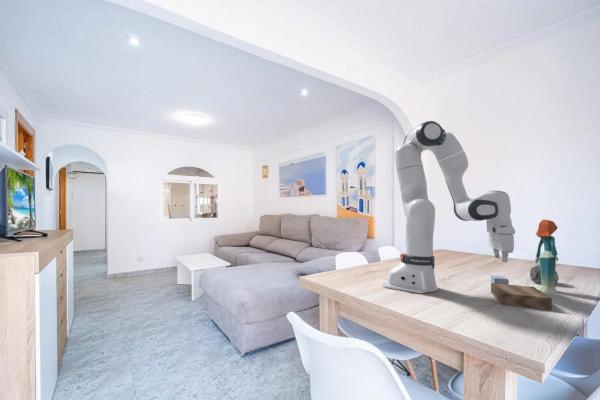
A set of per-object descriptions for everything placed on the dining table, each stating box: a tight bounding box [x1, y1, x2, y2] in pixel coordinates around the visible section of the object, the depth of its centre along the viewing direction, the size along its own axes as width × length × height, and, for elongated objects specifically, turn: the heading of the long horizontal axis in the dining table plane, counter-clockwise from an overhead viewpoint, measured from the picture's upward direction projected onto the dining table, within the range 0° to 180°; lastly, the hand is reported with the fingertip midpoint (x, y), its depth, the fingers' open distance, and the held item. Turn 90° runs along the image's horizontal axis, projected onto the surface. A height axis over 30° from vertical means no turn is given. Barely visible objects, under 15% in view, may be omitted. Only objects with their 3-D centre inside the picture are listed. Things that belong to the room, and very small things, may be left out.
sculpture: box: [534, 219, 559, 294], centre depth 113 cm, size 13×7×30 cm, turn 168°
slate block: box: [490, 275, 510, 285], centre depth 115 cm, size 5×5×5 cm
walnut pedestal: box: [490, 282, 553, 311], centre depth 100 cm, size 14×14×4 cm
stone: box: [529, 262, 560, 285], centre depth 124 cm, size 10×10×10 cm
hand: (500, 260), depth 115 cm, fingers open, 8 cm apart
